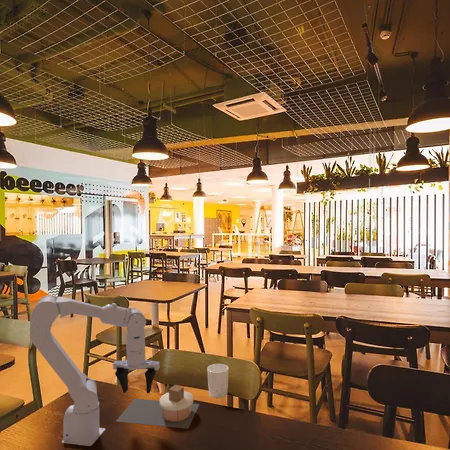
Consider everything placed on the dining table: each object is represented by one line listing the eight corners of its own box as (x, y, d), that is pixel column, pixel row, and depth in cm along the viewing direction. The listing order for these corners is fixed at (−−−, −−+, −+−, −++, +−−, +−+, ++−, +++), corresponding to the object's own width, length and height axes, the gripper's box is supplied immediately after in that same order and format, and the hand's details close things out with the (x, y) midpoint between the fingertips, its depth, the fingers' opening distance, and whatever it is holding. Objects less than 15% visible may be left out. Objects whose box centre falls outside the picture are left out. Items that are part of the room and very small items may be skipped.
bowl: (158, 420, 105) (158, 408, 105) (168, 405, 114) (168, 393, 114) (185, 423, 103) (185, 410, 103) (193, 407, 112) (193, 395, 112)
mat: (115, 422, 105) (115, 421, 105) (135, 400, 119) (135, 398, 119) (188, 430, 101) (188, 428, 101) (199, 405, 114) (199, 404, 114)
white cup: (215, 403, 116) (215, 374, 116) (203, 394, 122) (203, 367, 122) (233, 396, 121) (232, 368, 121) (220, 387, 127) (220, 361, 127)
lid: (152, 405, 106) (152, 391, 106) (172, 390, 116) (172, 377, 116) (180, 414, 101) (180, 399, 101) (199, 397, 111) (199, 384, 111)
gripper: (108, 353, 101) (109, 397, 101) (154, 353, 99) (155, 398, 99) (118, 344, 108) (119, 386, 108) (161, 345, 106) (162, 387, 106)
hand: (137, 391), depth 104 cm, fingers open, 7 cm apart
